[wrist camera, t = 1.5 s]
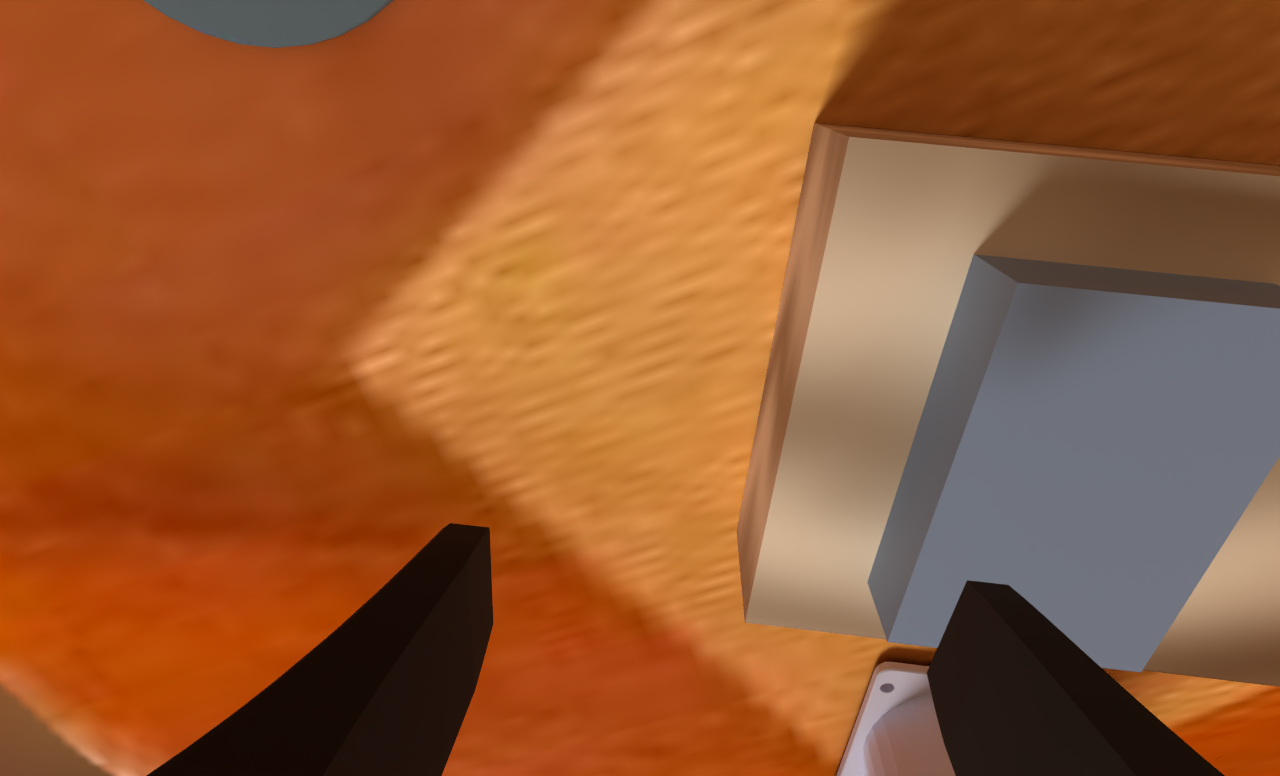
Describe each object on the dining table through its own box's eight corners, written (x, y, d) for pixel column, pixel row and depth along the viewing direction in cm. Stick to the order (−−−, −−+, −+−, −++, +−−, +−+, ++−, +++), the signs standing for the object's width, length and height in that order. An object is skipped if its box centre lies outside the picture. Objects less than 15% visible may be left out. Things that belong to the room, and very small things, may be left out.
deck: (1214, 587, 21) (1320, 691, 17) (736, 531, 21) (744, 622, 18) (1480, 183, 15) (1723, 217, 12) (814, 123, 16) (849, 136, 12)
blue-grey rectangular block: (1093, 608, 17) (1141, 672, 15) (867, 582, 17) (887, 642, 15) (1273, 283, 13) (1368, 317, 11) (973, 254, 13) (1018, 283, 11)
